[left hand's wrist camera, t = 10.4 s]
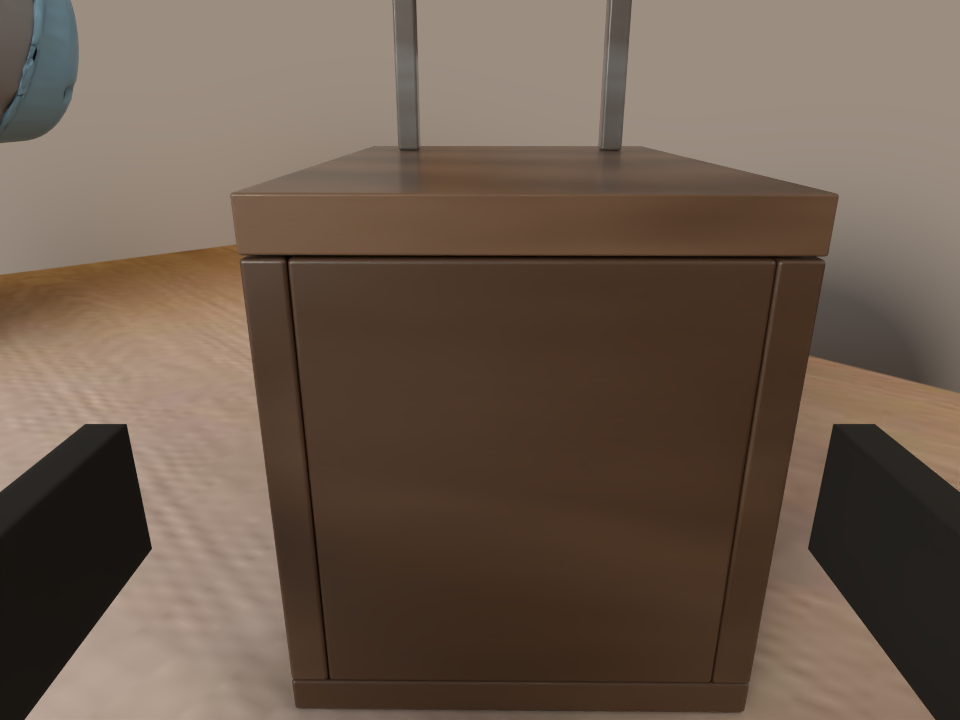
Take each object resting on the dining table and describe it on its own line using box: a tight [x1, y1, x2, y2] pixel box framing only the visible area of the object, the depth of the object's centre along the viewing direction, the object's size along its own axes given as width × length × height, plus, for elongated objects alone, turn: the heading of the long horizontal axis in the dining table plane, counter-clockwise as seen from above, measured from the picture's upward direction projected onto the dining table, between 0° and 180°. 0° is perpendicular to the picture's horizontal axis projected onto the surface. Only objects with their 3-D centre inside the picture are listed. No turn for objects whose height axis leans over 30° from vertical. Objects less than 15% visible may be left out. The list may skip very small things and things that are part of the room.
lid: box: [231, 0, 839, 256], centre depth 17 cm, size 15×10×9 cm
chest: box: [240, 255, 825, 712], centre depth 20 cm, size 15×10×10 cm
